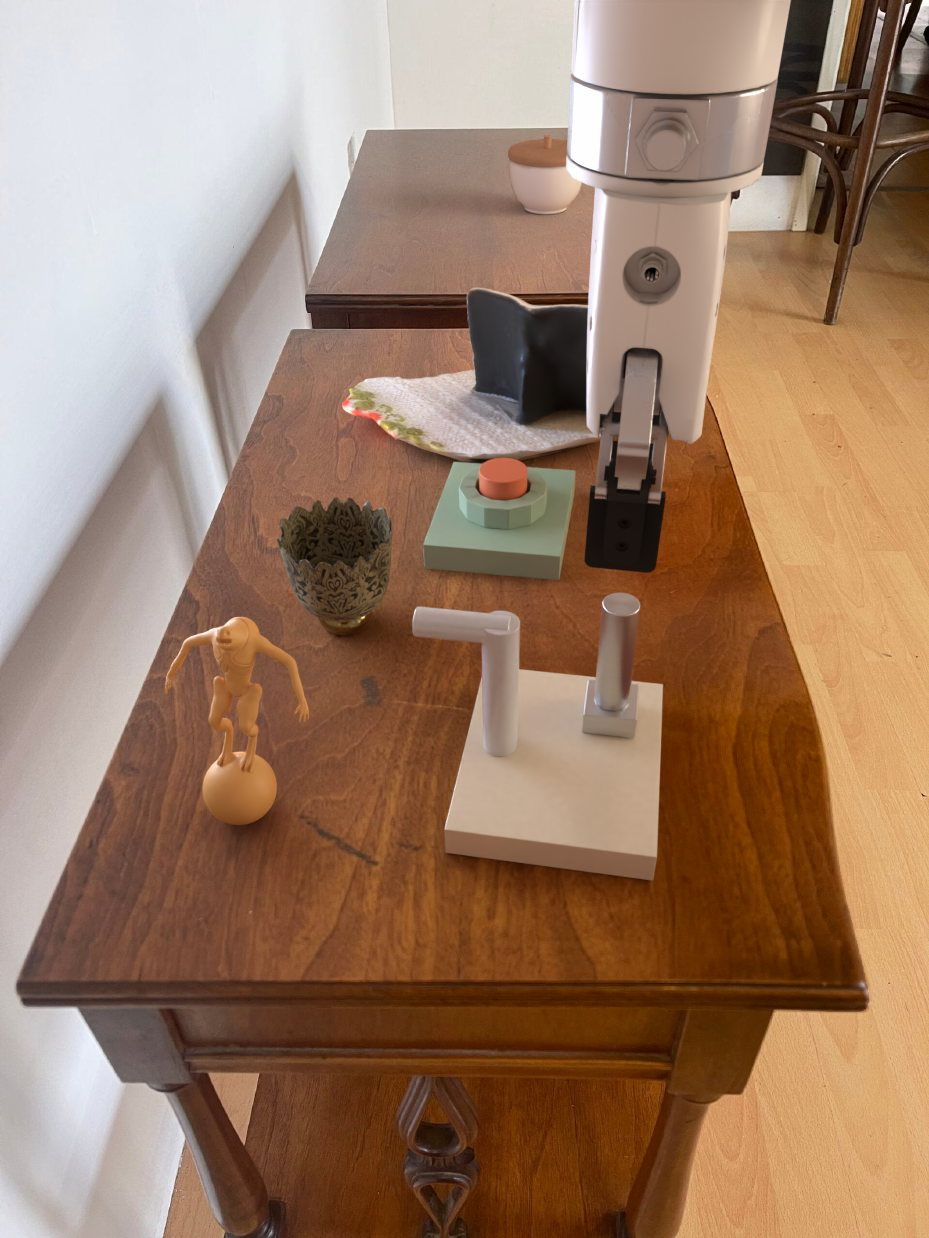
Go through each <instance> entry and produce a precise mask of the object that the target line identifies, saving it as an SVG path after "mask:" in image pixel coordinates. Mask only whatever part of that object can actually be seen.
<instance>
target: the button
mask: <svg viewBox="0 0 929 1238" xmlns="http://www.w3.org/2000/svg"><path fill="white" fill-rule="evenodd" d="M481 464H482V465H481V466H480V469H479V490H480V493H481V494H482V496H485V497H487V498H489V499H492V500H502V501H508V500H512V499H517V498H521V497H522V496H524V495H525V494H526V492H527V467H528V466H527V465H526V464H525V463H524V462H522V460H520V461H518V460H516V459H512V458H495V459H491V460H488V461H486V462H482V463H481Z"/></svg>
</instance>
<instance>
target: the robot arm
mask: <svg viewBox="0 0 929 1238" xmlns="http://www.w3.org/2000/svg"><path fill="white" fill-rule="evenodd" d="M791 2H792V0H574V7H573V24H572V25H573V26H572V44H571V45H572V46H571V47H572V48H571V66H570V72H571V73H570V84H569V85H570V86H569V103H568V120H567V121H568V124H567V159H566V169H567V172H568V173H569V174H570V175H571V176H572V177H573V178H575V179H576V180H578V181H580V182H582V184H584V185H586V186H589V187H593V188H594V201H593V211H592V212H593V214H592V225H591V227H592V228H591V230H592V231H591V244H590V260H589V261H590V262H589V278H588V299H587V305H588V321H587V366H586V377H587V395H586V405H587V427H588V428H589V429H590V431H591V432H592V433H593V434H594V435H596V436H597V437H599V435H600V434H601V440H600V441H599V442H600V443H599V451H598V460H597V468H596V469H597V470H596V479H595V485H593V484H591V485H590V488H589V498H588V508H587V509H588V510H587V523H586V535H585V547H584V560H583V561H584V563H585V565H586V566H587V567H589V568H592V569H604V570H613V571H615V570H616V571H622V572H623V571H624V572H635V573H647V574H648V573H653V572H654V571H655V570H656V568H657V562H658V555H659V549H660V541H661V534H662V527H663V520H664V513H665V505H666V499H667V497H666V496H667V492H666V491H664V490H663V483H664V482H663V481H664V473H665V472H664V471H665V464H666V463H665V462H666V453H667V445H668V438H669V435H670V437H671V440H672V441H684V442H685V445H691V444H694V443H695V442H696V441H697V440H699V439H700V438H701V436H702V434H703V426H704V425H703V424H704V418H705V417H704V416H705V411H706V409H705V408H706V402H707V395H708V394H707V393H708V385H709V379H710V371H711V364H712V357H713V350H714V344H715V338H716V329H717V323H718V316H719V310H720V309H719V308H720V301H721V295H722V289H723V288H722V287H723V281H724V273H725V264H726V256H727V248H728V239H729V230H730V229H729V228H730V218H731V204H732V193H733V192H737V191H740V190H743V189H746V188H749V187H751V186H753V185H754V184H755V183H756V182H758V181H760V179H761V177H762V174H763V168H764V162H765V157H766V151H767V145H768V139H769V134H770V127H771V122H772V116H773V109H774V103H775V98H776V92H777V87H778V82H779V81H778V80H779V79H778V77H779V72H780V66H781V59H782V54H783V49H784V43H785V36H786V31H787V24H788V20H789V13H790V7H791Z"/></svg>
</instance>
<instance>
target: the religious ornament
mask: <svg viewBox="0 0 929 1238" xmlns="http://www.w3.org/2000/svg"><path fill="white" fill-rule="evenodd" d="M466 309H467V322H468V323H467V324H468V334H469V341H470V347H471V352H472V363H473V368H474V369H467V370H464V371H463V370H460V371H458V372H455V373H453V372H450V373H449V372H447V373H442V374H438V375H436V376H425V377H419V378H417V377H413V378H402V377H400V376H399V375H398V376H392V377H391V376H381V377H380V376H379V377H373V378H370V377H369V378H366V379H364V380H363V381H361V382H358V384H357V385H355V386H353V387H351V388H349V389H348V391H349V395H348V397H347V398H346V399H345V400H344V401H342V404H341V405H342V406H341V407H342V409H343V411H345V412H346V413H348V414H350V415H352V416H355V417H360V418H365V419H371V420H374V421H375V423H376V424H377V425H378V426H379V427H380V428H381V429H383V431H385V432H386V433H387V434H388V435H389V436H391V437H393V439H394V440H400V441H403V442H405V443H408V444H409V445H411V446H414V447H416V448H419V449H421V450H424V451H427V452H431V453H434V454H437V455H441V456H444V457H448V458H450V459H453V460H456V461H457V462H465V463H485V462H486V461H488V460H491V459H495V458H512V459H516V460H518V461H524V460H530V459H533V458H538V457H543V456H548V455H552V454H557V453H560V452H564V451H569V450H572V449H575V448H579V447H582V446H586V445H590V444H593V443H597V442H600V440H601V434H600V435H599V437H597V436H596V435H594V434H593V433H592V432H591V431H590V429H589V428H588V427H587V405H586V395H587V377H586V366H587V321H588V304H574V303H572V304H570V303H569V304H554V305H534V304H530V303H528V302H526V301H525V300H523V299H522V298H520V297H517V296H514V295H512V294H510V293H506V292H501V291H498V290H494V289H491V288H487V287H486V288H484V287H472V288H471V289H469V290H468V291H467V294H466Z"/></svg>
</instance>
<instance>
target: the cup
mask: <svg viewBox="0 0 929 1238" xmlns="http://www.w3.org/2000/svg"><path fill="white" fill-rule="evenodd" d="M373 509H374V508H373V506H372V503H371V501H370V500H367V501H366V502H365V503H364V504H363V506H362V508H361V507H360V505H359V504H357V503H356V501H355V500H354V498H352V497H347V498H346V500H345V502H344V501H342V500H341V499H340V498H339V497H338V496H335V497H333V498H332V499H331V501H330V502H329V504H328V506H327V510H326V508H325V507H323V504H322V501H321V500H319V499H317V500H316V501H315V502H314V503H313V505H312V508H311V510H308V509H306V508H304V507H303V506H298V505H297V506H294V508H293V509H292V511H290V514H289V515H288V518H285V517H282V518H280V521H279V528H280V531H281V532H280V533H281V535H280V536H279V537H275V539H276V543H277V545H278V548H279V551H280V555H281V557H282V560H283V565H284V568H285V570H286V574H287V576H288V579H289V582H290V585H291V588H292V590H293V592H294V595H295V597H296V599H297V600H298V602H299V603H300V605H301V606H302V607H303V608H304V610H305V611H307V612H308V613H310V615H312V616H314V617H316V618H318V621H319V623H320V625H321V626H322V628H323V629H325V630H326V631H327V632H328V633H330V634H331V635H335V636H343V637H344V636H352V635H355V634H358V633H360V632H362V631H363V630H364V629H366V628H367V627H368V625H369V624H370V622H371V619H372V617H373V612H374V610H376V608H378V607H379V606H380V604H381V602H382V601H383V600H384V598H385V595H387V594H386V593H387V591H388V587H389V581H390V576H391V566H392V548H393V547H392V544H393V533H392V531H393V527H392V518H391V517H388V513H387V510H386V508H385V507H383V506H381V507H379V508H376V509H374V510H373Z"/></svg>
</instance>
